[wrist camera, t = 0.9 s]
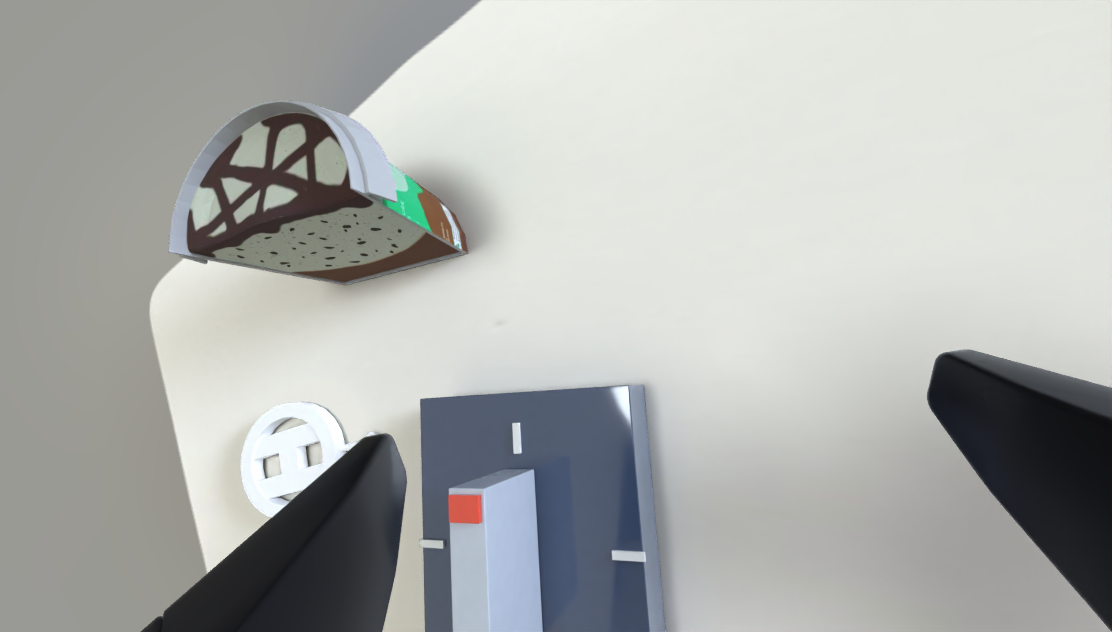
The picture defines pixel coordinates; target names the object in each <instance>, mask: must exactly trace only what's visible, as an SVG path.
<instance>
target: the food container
mask: <svg viewBox="0 0 1112 632" xmlns="http://www.w3.org/2000/svg"><path fill="white" fill-rule="evenodd" d="M168 252H170V253H174V254H178V255H179V257H183V258H186V259H190V260H193V261H196V262H200V263H203V264H207V260H210V261H216V262H221V263H226V264H232V265H237V266H243V267H248V268H254V269H259V270H265V271H270V272H275V273H281V274H286V275H292V276H297V277H303V278H308V279H314V280H319V281H324V282H330V283H335V284H341V285H349V284H352V283H356V282H360V281H364V280H368V279H372V278H376V277H379V276H383V275H387V274H391V273H395V272H399V271H402V270H406V269H410V268H414V267H418V266H422V265H425V264H429V263H433V262H437V261H441V260H445V259H448V258H452V257H456V256H460V255H464V254H468V250H467V244H466V239H465V234H464V232H463V230H462V228H461V226H460V224H459V222H458V220H457V218H456V216H455V214H454V213H453V212H452V211H451V210H450V209H449V208H448V207H447V206H446V205H445V204H444V203H442V202H441V201H440V200H439V199H438V198H436V197H435V196H434V195H432V194H431V193H430V192H428V191H427V190H426V189H424V188H423V187H422V186H420V185H419V184H418V183H416V182H415V181H413V180H412V179H411V178H409V177H408V176H407V175H405V174H404V173H403V172H401V171H400V170H399V169H397V168H396V167H395V166H393V165H392V164H390V163H389V162H388V160H387V158H386V156H385V154H384V152H383V150H382V148H381V146H380V145H379V144H378V142H377V141H376V139H375V138H374V137H373V135H372V134H371V133H370V132H369V131H368V130H367V129H365V128H364V127H363V126H362V125H361V124H360V123H358V122H357V121H355V120H353V119H351V118H350V117H348V116H345V115H343V114H340V113H337V112H335V111H331V110H329V109H326V108H323V107H320V106H317V105H313V104H310V103H307V102H294V101H286V100H285V101H284V100H275V101H268V102H263V103H260V104H258V105H255V106H252V107H249V108H248V109H246V110H244V111H243V112H241V113H239V114H237V115H236V116H234V117H233V118H232V119H231V120H229V121H228V122H227V123H225V124H224V125H223V126H222V127H221V128H220V129H219V130H218V131H217V132H216V133H215V134H214V135H213V136H212V137H211V139H210V140H209V141H208V143H207V144H206V145H205V146H204V148H203V149H202V150H201V152H200V153H199V155H198V156H197V158H196V160H195V162H194V163H193V164H192V166H191V168H190V170H189V172H188V174H187V176H186V179H185V180H184V183H183V185H182V188H181V191H180V193H179V196H178V198H177V202H176V205H175V209H174V213H173V217H172V222H171V229H170V235H169V248H168Z"/></svg>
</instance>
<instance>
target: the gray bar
mask: <svg viewBox="0 0 1112 632" xmlns="http://www.w3.org/2000/svg"><path fill="white" fill-rule="evenodd" d="M448 504H449V523H450V551H451V586H452V621H453V632H543V626H542V607H541V589H540V570H539V552H538V534H537V515H536V497H535V478H534V469H503V470H500V471H498V472H495V473H492V474H489V475H486V476H483V477H480V478H478V479H475V480H472V481H469V482H466V483H463V484H460V485H458V486H455V487H452V488H449V495H448Z"/></svg>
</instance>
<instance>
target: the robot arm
mask: <svg viewBox="0 0 1112 632" xmlns="http://www.w3.org/2000/svg"><path fill="white" fill-rule="evenodd" d="M927 400H928V404H929V406H930V409H931V410H932V412H933V413H934V415H935V416H936V417H937V419H938V420H939V421H940V423H941V424H942V426H943V427H944V428H945V430H946V431H947V433H948V434H949V435H950V437H951V438H952V440H953V441H954V442H955V444H956V445H957V447H958V448H959V449H960V451H961V452H962V454H963V455H964V456H965V458H966V459H967V460H968V462H969V463H970V465H971V466H972V467H973V469H974V470H975V472H976V473H977V474H978V476H979V477H980V478H981V480H982V481H983V482H984V484H985V485H986V486H987V488H988V489H989V490H990V492H991V493H992V494H993V495H994V496H995V498H996V499H997V500H998V501H999V502H1000V504H1001V505H1002V506H1003V507H1004V508H1005V509H1006V511H1007V512H1008V513H1009V514H1010V515H1011V516H1012V517H1013V519H1014V520H1015V521H1016V522H1017V523H1018V524H1019V526H1020V527H1021V528H1022V529H1023V530H1024V531H1025V532H1026V534H1027V535H1028V536H1029V537H1030V538H1031V539H1032V541H1033V542H1034V543H1035V544H1036V545H1037V546H1038V547H1039V549H1040V550H1041V551H1042V552H1043V553H1044V554H1045V555H1046V557H1047V558H1048V559H1049V560H1050V561H1051V562H1052V564H1053V565H1054V566H1055V567H1056V568H1057V569H1058V570H1059V572H1060V573H1061V574H1062V575H1063V576H1064V577H1065V578H1066V580H1067V581H1068V582H1069V583H1070V584H1071V585H1072V587H1073V588H1074V589H1075V590H1076V591H1077V592H1078V593H1079V595H1080V596H1081V597H1082V598H1083V599H1084V600H1085V602H1086V603H1087V604H1088V605H1089V606H1090V607H1091V608H1092V610H1093V611H1094V612H1095V613H1096V614H1097V615H1098V616H1099V618H1100V619H1101V620H1102V621H1103V622H1104V623H1105V625H1106V626H1107V627H1108V628H1109V629H1110V630H1111V631H1112V388H1110V387H1106V386H1103V385H1099V384H1095V383H1092V382H1088V381H1084V380H1081V379H1077V378H1073V377H1070V376H1066V375H1062V374H1058V373H1055V372H1051V371H1047V370H1044V369H1040V368H1036V367H1033V366H1029V365H1025V364H1021V363H1018V362H1014V361H1010V360H1007V359H1003V358H999V357H996V356H992V355H988V354H985V353H981V352H977V351H973V350H958V351H951V352H945V353H942V354H940V355H939V356H938V357H937V358H936V360H935V363H934V367H933V371H932V376H931V380H930V384H929V388H928V392H927ZM406 484H407V478H406V471H405V468H404V465H403V462H402V460H401V457H400V454H399V452H398V449H397V446H396V444H395V441H394V439H393V437H392V436H391V435H389V434H386V433H385V434H378V435H371V436H366V437H364V438H363V439H361V440H360V441H359V442H358V443H357V444H356V445H354V446H353V447H352V448H351V449H350V450H349V451H348V452H346V453H345V454H344V455H343V456H342V457H341V458H340V459H338V460H337V461H336V462H335V463H334V464H333V465H332V466H330V467H329V468H328V469H327V470H326V471H325V472H323V473H322V474H321V475H320V476H319V477H318V478H317V479H315V480H314V481H313V482H312V483H311V484H310V485H309V486H307V487H306V488H305V489H304V490H303V491H302V492H301V493H299V494H298V495H297V496H296V497H295V498H294V499H293V500H291V501H290V502H289V503H288V504H287V505H286V506H284V507H283V508H282V509H281V510H280V511H279V512H278V513H276V514H275V515H274V516H273V517H272V518H271V519H270V520H268V521H267V522H266V523H265V524H264V525H263V526H262V527H260V528H259V529H258V530H257V531H256V532H255V533H254V534H252V535H251V536H250V537H249V538H248V539H247V540H245V541H244V542H243V543H242V544H241V545H240V546H239V547H237V548H236V549H235V550H234V551H233V552H232V553H231V554H229V555H228V556H227V557H226V558H225V559H224V560H223V561H221V562H220V563H219V564H218V565H217V566H216V567H214V568H213V569H212V570H211V571H210V572H209V573H208V574H206V576H204V577H203V578H202V579H201V580H200V581H199V582H197V583H196V584H195V585H194V586H193V587H192V588H190V589H189V590H188V591H187V592H186V593H185V594H183V595H182V596H181V597H180V598H179V599H178V600H177V601H176V602H174V603H173V604H172V605H171V606H170V607H169V608H167V609H166V610H165V611H164V614H163V616H159V617H157V618H156V619H155V620H154V621H152V622H151V623H150V624H149V625H148V626H147V627H145V628H144V629H143V630H142V631H141V632H382V630H383V626H384V621H385V617H386V613H387V609H388V604H389V600H390V596H391V591H392V587H393V582H394V577H395V572H396V566H397V559H398V551H399V543H400V534H401V526H402V518H403V509H404V501H405V493H406Z"/></svg>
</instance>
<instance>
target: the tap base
mask: <svg viewBox="0 0 1112 632" xmlns="http://www.w3.org/2000/svg"><path fill="white" fill-rule="evenodd" d="M420 409H421V457H422V505H423V539H419V547H423V553H424V601H425V632H453V621H452V586H451V551H450V523H449V504H448V495H449V488H452V487H455V486H458V485H460V484H463V483H466V482H469V481H472V480H475V479H478V478H480V477H483V476H486V475H489V474H492V473H495V472H498V471H500V470H503V469H534V478H535V497H536V515H537V534H538V552H539V570H540V589H541V607H542V626H543V632H665V621H664V610H663V599H662V587H661V576H660V565H659V554H658V543H657V531H656V520H655V509H654V498H653V486H652V475H651V464H650V453H649V441H648V430H647V419H646V408H645V396H644V386H643V385H623V386H607V387H592V388H577V389H562V390H547V391H532V392H516V393H501V394H486V395H471V396H456V397H441V398H425V399H420Z"/></svg>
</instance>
